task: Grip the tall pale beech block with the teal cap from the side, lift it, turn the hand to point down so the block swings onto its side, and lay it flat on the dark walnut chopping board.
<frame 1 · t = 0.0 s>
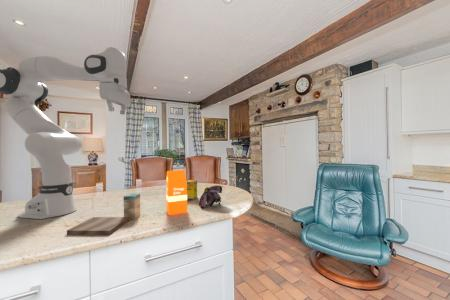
hand: (117, 112, 98), 48 cm above the counter, tool pointing down, fingers open, 8 cm apart
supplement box: (191, 199, 124), on the counter
decorative flower: (211, 206, 109), on the counter
chopping board: (100, 227, 81), on the counter
beech block: (132, 217, 93), on the counter
orange juice: (176, 211, 100), on the counter
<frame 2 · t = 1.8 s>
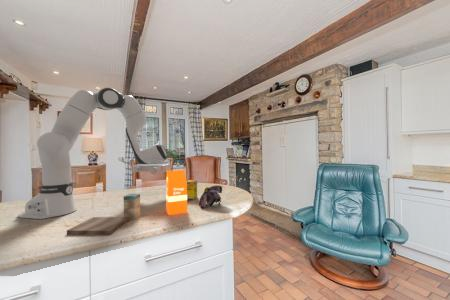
hand: (145, 169, 107), 20 cm above the counter, tool horizontal, fingers open, 8 cm apart
nothing on the counter moved.
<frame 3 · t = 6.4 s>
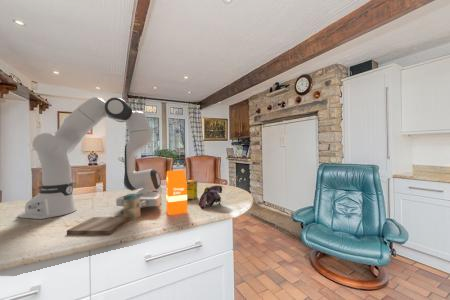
hand: (131, 205, 92), 6 cm above the counter, tool horizontal, fingers closed on beech block, 5 cm apart
beech block: (132, 217, 93), on the counter, touching gripper
everything else where it was.
when the fingers open (5 cm above the counter, at t = 15.8 s): beech block drops 1 cm, resting on chopping board.
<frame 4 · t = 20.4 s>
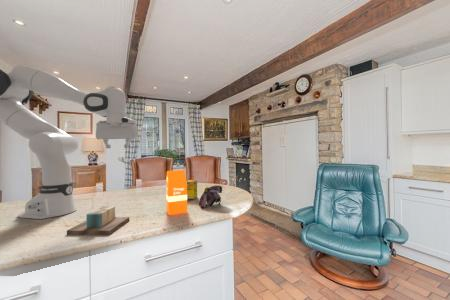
hand: (117, 148, 103), 31 cm above the counter, tool pointing down, fingers open, 8 cm apart
beech block: (109, 212, 87), point 4 cm above the counter, tilted 90°, touching chopping board
everything else where it was.
at the end: beech block tilted 90°; beech block touching chopping board; beech block inside the target area (3.7 cm from its centre), point 4.0 cm above the counter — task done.
